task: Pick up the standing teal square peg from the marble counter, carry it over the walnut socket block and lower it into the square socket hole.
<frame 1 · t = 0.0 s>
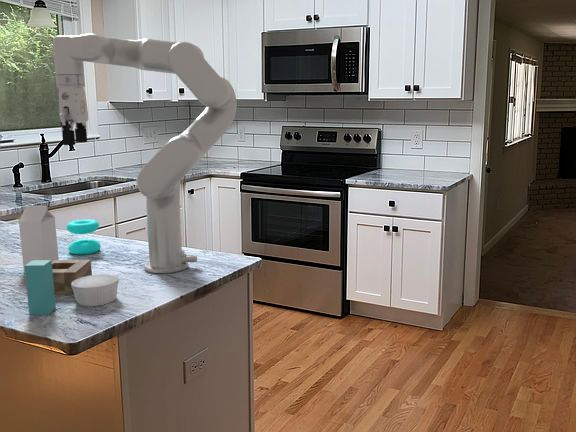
hand: (75, 143, 175), 37 cm above the counter, tool pointing down, fingers open, 9 cm apart
socket block: (62, 287, 165), on the counter
ramekin: (96, 301, 154), on the counter
milk carton: (41, 269, 182), on the counter
teal stacked rings: (85, 252, 202), on the counter
peg: (42, 311, 147), on the counter
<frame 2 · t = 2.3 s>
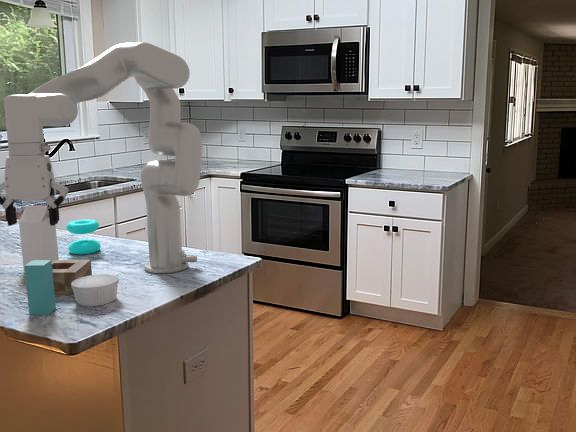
hand: (33, 224, 142), 21 cm above the counter, tool pointing down, fingers open, 9 cm apart
nothing on the counter moved.
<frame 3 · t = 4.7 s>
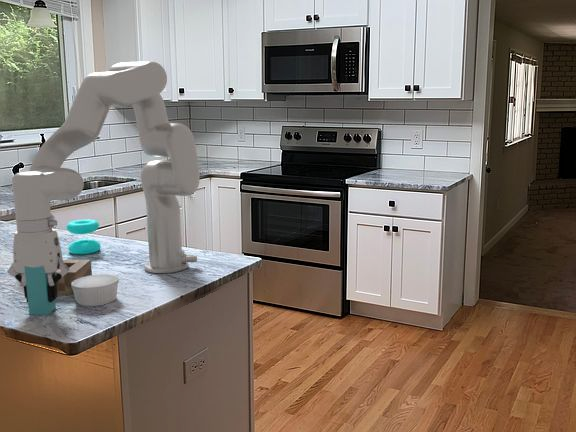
hand: (41, 299, 146), 3 cm above the counter, tool pointing down, fingers closed on peg, 4 cm apart
peg: (42, 311, 147), on the counter, touching gripper
everything else where it was.
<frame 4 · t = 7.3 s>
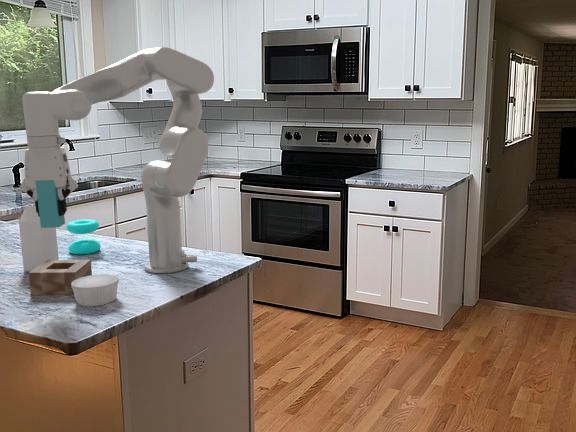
hand: (52, 214, 156), 21 cm above the counter, tool pointing down, fingers closed on peg, 4 cm apart
peg: (53, 225, 156), point 18 cm above the counter, touching gripper
everything else where it was.
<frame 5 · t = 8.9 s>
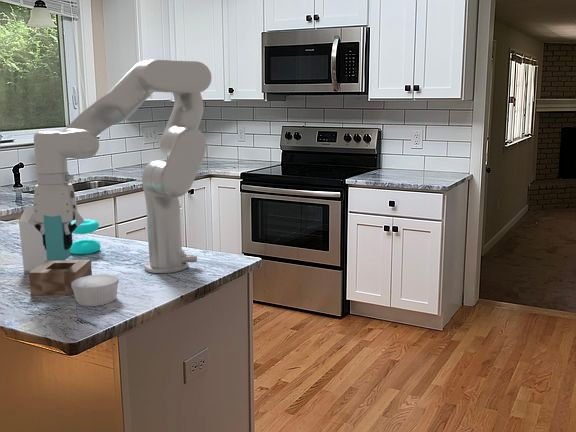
hand: (58, 247, 162), 11 cm above the counter, tool pointing down, fingers closed on peg, 4 cm apart
peg: (59, 258, 163), point 8 cm above the counter, touching gripper
everything else where it was.
when the fingers open (7 cm above the counter, at t = 10.1 s): peg drops 3 cm, resting on socket block.
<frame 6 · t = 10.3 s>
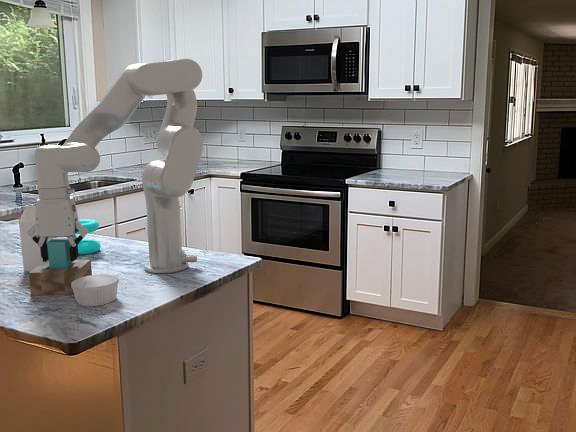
hand: (60, 259, 163), 8 cm above the counter, tool pointing down, fingers open, 6 cm apart
peg: (62, 283, 164), point 1 cm above the counter, touching socket block
everything else where it was.
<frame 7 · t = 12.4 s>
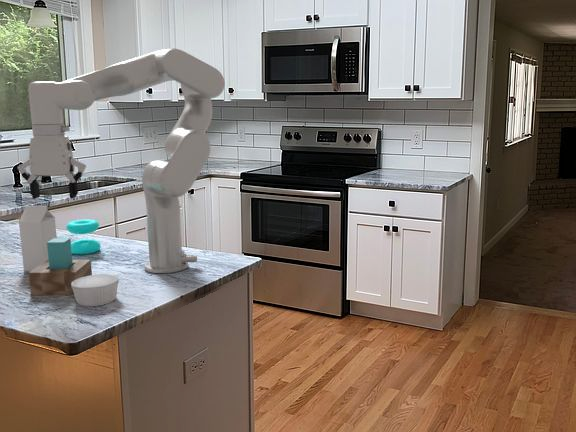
hand: (54, 197, 160), 24 cm above the counter, tool pointing down, fingers open, 9 cm apart
nothing on the counter moved.
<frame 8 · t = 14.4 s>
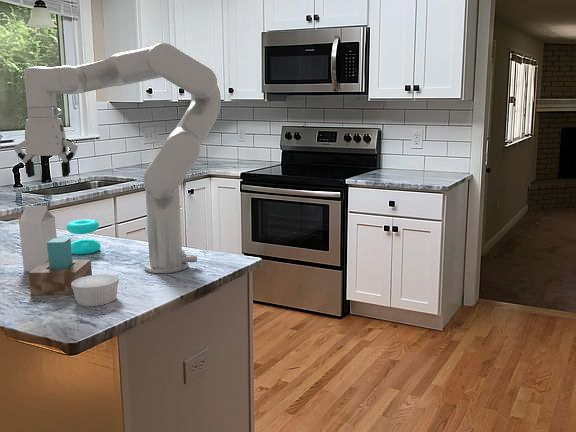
hand: (48, 176, 171), 28 cm above the counter, tool pointing down, fingers open, 9 cm apart
nothing on the counter moved.
at the end: peg 0.1 cm off-centre on the socket block, point 1.0 cm above the socket block's base; peg tilted 0°; the gripper is holding nothing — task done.
